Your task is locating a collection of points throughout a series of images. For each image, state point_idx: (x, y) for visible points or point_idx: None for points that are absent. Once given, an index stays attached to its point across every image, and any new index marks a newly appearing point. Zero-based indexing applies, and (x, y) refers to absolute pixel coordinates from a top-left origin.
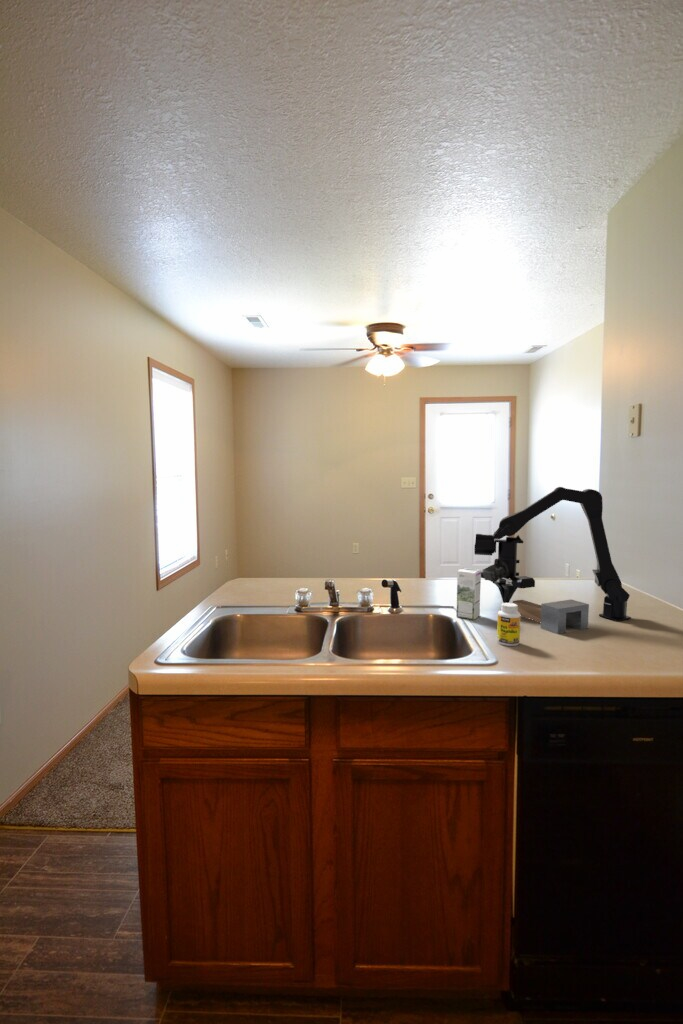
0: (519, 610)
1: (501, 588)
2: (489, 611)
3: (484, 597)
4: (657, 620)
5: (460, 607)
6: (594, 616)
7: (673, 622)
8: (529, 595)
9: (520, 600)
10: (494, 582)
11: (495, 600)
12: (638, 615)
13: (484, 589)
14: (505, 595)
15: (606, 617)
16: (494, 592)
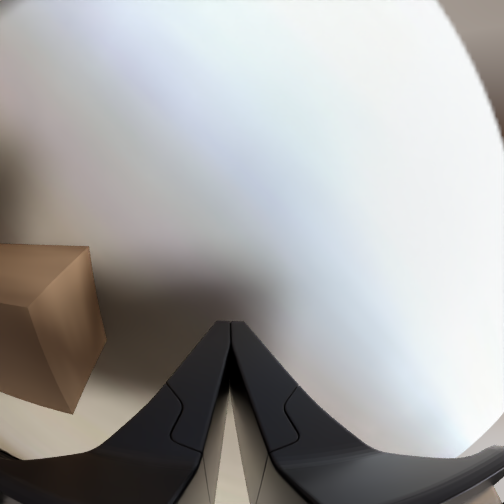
0: (1, 262)
1: (278, 457)
2: (236, 93)
3: (480, 357)
4: None
5: None
6: (27, 458)
7: None
8: None
9: (42, 382)
10: (474, 485)
11: (419, 379)
12: None
13: (498, 410)
14: (188, 381)
15: (7, 456)
16: (463, 426)
